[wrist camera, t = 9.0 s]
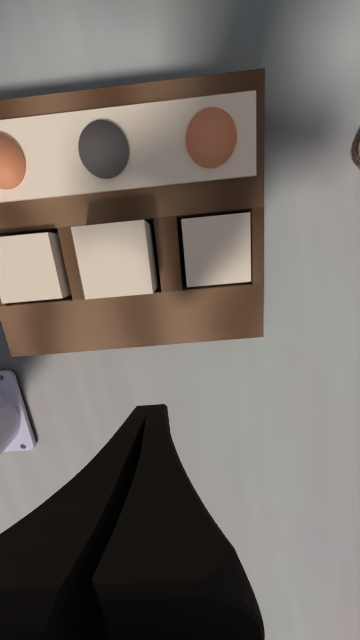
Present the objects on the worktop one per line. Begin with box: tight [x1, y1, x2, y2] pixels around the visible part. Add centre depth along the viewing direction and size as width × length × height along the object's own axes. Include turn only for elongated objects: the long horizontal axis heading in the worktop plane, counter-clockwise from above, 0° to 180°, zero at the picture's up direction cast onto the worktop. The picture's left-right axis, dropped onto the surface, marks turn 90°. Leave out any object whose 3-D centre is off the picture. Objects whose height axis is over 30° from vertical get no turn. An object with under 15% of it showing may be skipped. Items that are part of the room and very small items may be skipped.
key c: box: [181, 212, 251, 287], centre depth 16 cm, size 4×4×3 cm
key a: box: [0, 232, 72, 304], centre depth 16 cm, size 4×4×3 cm
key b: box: [71, 220, 158, 300], centre depth 15 cm, size 4×4×3 cm
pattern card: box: [0, 90, 256, 203], centre depth 14 cm, size 17×4×1 cm, turn 95°
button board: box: [0, 68, 265, 357], centre depth 16 cm, size 18×15×2 cm
